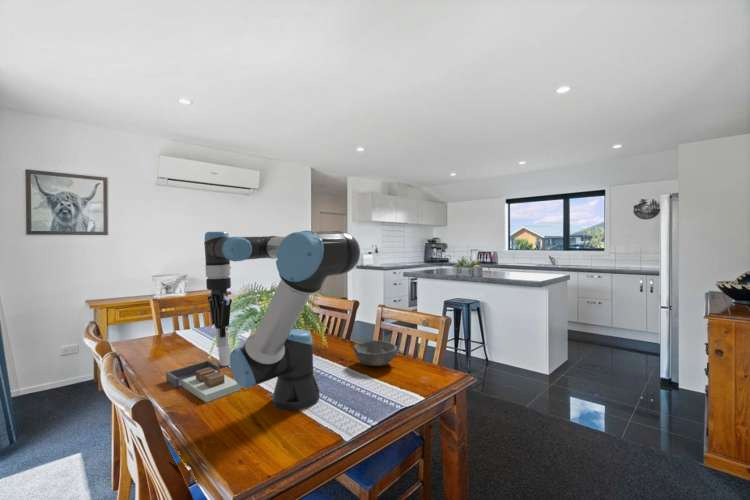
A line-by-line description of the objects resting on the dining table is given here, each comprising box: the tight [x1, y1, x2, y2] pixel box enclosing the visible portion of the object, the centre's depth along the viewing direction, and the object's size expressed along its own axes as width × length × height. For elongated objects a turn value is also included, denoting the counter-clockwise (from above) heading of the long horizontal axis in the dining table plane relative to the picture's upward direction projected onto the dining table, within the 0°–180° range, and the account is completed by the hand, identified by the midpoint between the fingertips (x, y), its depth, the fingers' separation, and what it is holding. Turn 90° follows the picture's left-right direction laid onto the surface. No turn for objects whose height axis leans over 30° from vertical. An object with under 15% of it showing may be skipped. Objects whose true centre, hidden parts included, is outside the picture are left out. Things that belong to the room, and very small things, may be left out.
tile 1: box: [196, 367, 215, 383], centre depth 130 cm, size 5×5×3 cm
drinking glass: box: [217, 331, 231, 367], centre depth 151 cm, size 7×7×15 cm
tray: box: [165, 359, 221, 389], centre depth 138 cm, size 10×16×4 cm, turn 139°
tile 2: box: [204, 371, 225, 388], centre depth 126 cm, size 5×5×3 cm
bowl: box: [353, 340, 398, 367], centre depth 147 cm, size 18×18×8 cm
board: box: [181, 370, 241, 403], centre depth 128 cm, size 20×12×2 cm, turn 49°
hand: (221, 346), depth 121 cm, fingers closed
